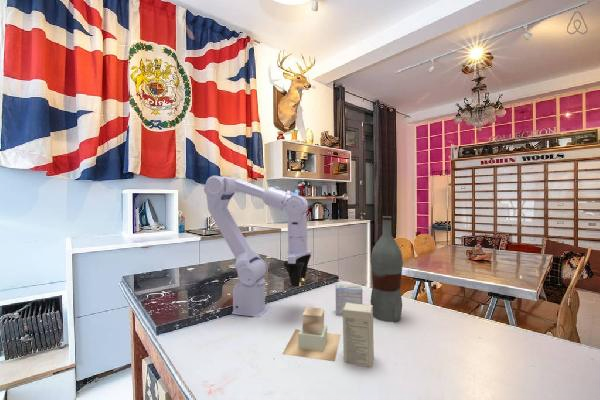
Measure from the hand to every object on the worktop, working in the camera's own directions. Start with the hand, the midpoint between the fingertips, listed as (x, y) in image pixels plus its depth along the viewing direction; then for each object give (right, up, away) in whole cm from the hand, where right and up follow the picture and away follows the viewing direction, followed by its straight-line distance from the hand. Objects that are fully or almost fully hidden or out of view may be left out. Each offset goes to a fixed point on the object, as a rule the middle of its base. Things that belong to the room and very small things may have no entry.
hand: (298, 281), depth 87 cm
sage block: (+4, -11, -16) cm, 19 cm away
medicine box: (+15, -11, +2) cm, 19 cm away
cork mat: (+4, -11, -16) cm, 20 cm away
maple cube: (+4, -7, -16) cm, 18 cm away
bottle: (+26, -11, 0) cm, 28 cm away
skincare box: (+13, -12, -22) cm, 28 cm away
